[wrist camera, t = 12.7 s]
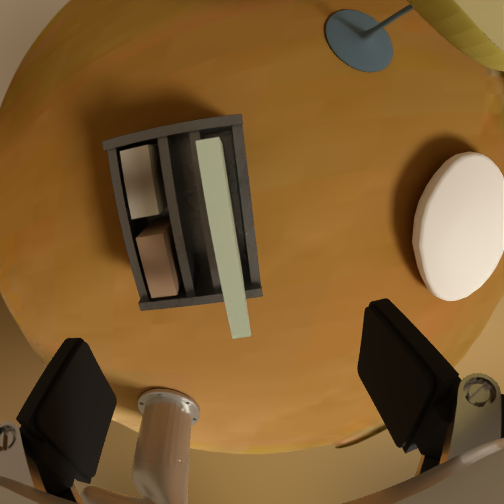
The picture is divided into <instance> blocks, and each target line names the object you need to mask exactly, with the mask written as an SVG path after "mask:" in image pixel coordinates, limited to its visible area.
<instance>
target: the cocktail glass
mask: <svg viewBox="0 0 504 504" xmlns="http://www.w3.org/2000/svg"><path fill="white" fill-rule="evenodd" d="M407 1H408V2H409V3H410V5H408V6H406V7H405V8H403V9H402V10H400V11H398V12H397V13H395V14H394V15H392V16H390V17H389V18H387V19H386V20H384V21H383V22H381V23H378V22H377V21H376V20H375V19H373V18H372V17H370V16H369V15H367V14H365V13H362V12H359V11H355V10H342V11H338V12H336V13H334V14H333V15H332V16H331V17H330V18H329V20H328V22H327V24H326V37H327V40H328V43H329V45H330V47H331V49H332V50H333V51H334V53H335V54H336V55H337V56H338V57H339V58H340V59H341V60H342V61H343V62H345V63H346V64H347V65H349V66H351V67H353V68H355V69H357V70H360V71H364V72H376V71H380V70H382V69H384V68H385V67H386V66H388V64H389V63H390V61H391V59H392V55H393V48H392V43H391V40H390V38H389V35H388V34H387V32H386V31H385V29H384V28H383V27H385V26H386V25H388V24H389V23H391V22H392V21H394V20H395V19H397V18H399V17H400V16H402V15H404V14H405V13H407V12H409V11H410V10H412V9H415V10H416V11H417V12H418V13H419V14H420V15H421V16H422V17H423V18H424V19H425V21H427V22H428V23H429V24H430V25H431V26H432V27H433V28H434V29H435V30H436V31H437V32H438V33H439V34H440V35H442V36H443V37H444V38H445V39H446V40H447V41H448V42H450V43H451V44H452V45H453V46H454V47H456V48H457V49H458V50H460V51H461V52H462V53H464V54H465V55H466V56H468V57H469V58H471V59H473V60H474V61H476V62H477V63H479V64H481V65H484V66H486V67H488V68H491V69H494V70H500V71H504V0H407Z"/></svg>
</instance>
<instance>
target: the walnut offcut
mask: <svg viewBox="0 0 504 504" xmlns="http://www.w3.org/2000/svg"><path fill="white" fill-rule="evenodd" d="M136 241H137V245H138V249H139V253H140V257H141V261H142V265H143V269H144V273H145V276H146V280H147V284H148V287H149V291H150V294H151V297H152V298H156V297H165V296H174V295H177V294H178V291H179V287H180V284H181V281H182V274H181V269H180V265H179V260H178V256H177V251H176V246H175V241H174V236H173V231H172V226H171V221H170V217H166V218H160V219H154V220H153V221H152V222H151V223H150V224H149V225H148V226H147V227H146V228H145V229H144V230H143V231H142V232H141V233H140V234H139V235H138V236H137V237H136Z"/></svg>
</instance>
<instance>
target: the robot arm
mask: <svg viewBox="0 0 504 504" xmlns="http://www.w3.org/2000/svg"><path fill="white" fill-rule="evenodd" d="M358 374H359V377H360V379H361V381H362V382H363V384H364V386H365V388H366V390H367V391H368V393H369V395H370V397H371V399H372V401H373V403H374V404H375V406H376V408H377V410H378V412H379V414H380V416H381V417H382V419H383V421H384V423H385V425H386V427H387V429H388V431H389V433H390V434H391V436H392V438H393V440H394V442H395V444H396V446H397V447H399V448H401V447H402V448H403V450H404V452H405V453H408V452H410V451H412V450H414V449H417V448H418V449H419V451H420V453H421V459H420V462H419V465H418V468H417V471H416V474H415V477H413V478H411V479H409V480H406V481H404V482H402V483H399V484H397V485H394V486H392V487H389V488H387V489H384V490H382V491H379V492H376V493H373V494H371V495H368V496H365V497H362V498H359V499H356V500H353V501H349V502H346V503H343V504H504V394H501V392H500V387H499V386H498V384H497V382H496V381H495V380H494V379H492V378H491V377H489V376H487V375H484V374H479V373H475V374H471V375H468V376H466V377H465V378H463V380H461V379H460V378H459V377H458V375H459V374H458V373H457V372H456V370H455V369H454V368H453V367H452V366H451V365H450V364H449V362H448V361H447V360H446V359H445V358H444V357H443V356H442V355H441V354H440V352H439V351H438V350H437V349H436V348H435V347H434V346H433V345H432V344H431V343H430V342H429V340H428V339H427V338H426V337H425V336H424V335H423V334H422V333H421V332H420V331H419V330H418V329H417V328H416V327H415V326H414V325H413V324H412V323H411V322H410V320H409V319H408V318H407V317H406V316H405V315H404V314H403V313H402V312H401V311H400V310H399V309H398V308H397V307H396V306H395V305H394V304H393V303H392V302H391V301H390V300H389V299H387V298H385V299H381V300H376V301H372V302H370V304H369V307H366V308H365V312H364V322H363V331H362V339H361V347H360V354H359V361H358ZM115 407H116V396H115V394H114V392H113V391H112V389H111V387H110V385H109V384H108V382H107V380H106V378H105V376H104V375H103V373H102V371H101V369H100V367H99V365H98V363H97V361H96V359H95V357H94V355H93V353H92V351H91V349H90V347H89V345H88V344H87V343H86V342H84V340H83V339H81V338H67V339H66V340H65V341H64V342H63V344H62V345H61V346H60V348H59V349H58V351H57V352H56V354H55V355H54V357H53V358H52V360H51V361H50V363H49V364H48V366H47V368H46V369H45V371H44V372H43V374H42V376H41V377H40V379H39V380H38V382H37V383H36V385H35V387H34V388H33V390H32V392H31V394H30V395H29V397H28V398H27V400H26V402H25V404H24V405H23V407H22V409H21V411H20V412H19V415H18V416H17V418H16V420H17V421H18V422H19V423H20V424H21V427H20V429H19V427H18V426H17V425H16V424H14V423H12V422H5V423H2V424H0V504H188V468H189V450H190V435H191V426H192V425H194V424H195V423H196V422H197V421H198V420H199V417H200V409H199V406H198V405H197V403H196V402H195V401H194V400H193V399H191V398H190V397H188V396H187V395H185V394H183V393H180V392H177V391H174V390H170V389H151V390H148V391H146V392H144V393H143V394H141V395H140V397H139V400H138V409H139V411H140V412H141V414H142V415H143V417H142V421H141V425H140V430H139V435H138V439H137V444H136V449H135V454H134V460H133V464H132V469H131V477H132V480H133V483H134V485H135V486H136V488H137V490H138V491H139V492H140V494H141V495H142V497H143V498H137V497H132V496H128V495H124V494H121V493H118V492H114V491H111V490H108V489H104V488H101V487H97V486H87V487H85V488H84V489H83V490H82V491H81V493H80V495H79V493H78V491H77V489H76V487H75V485H74V483H73V482H74V479H76V480H77V481H81V482H84V483H88V484H90V482H91V478H92V477H94V476H95V474H96V470H97V467H98V463H99V459H100V456H101V452H102V448H103V445H104V442H105V438H106V435H107V431H108V428H109V425H110V422H111V419H112V416H113V413H114V410H115Z"/></svg>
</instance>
